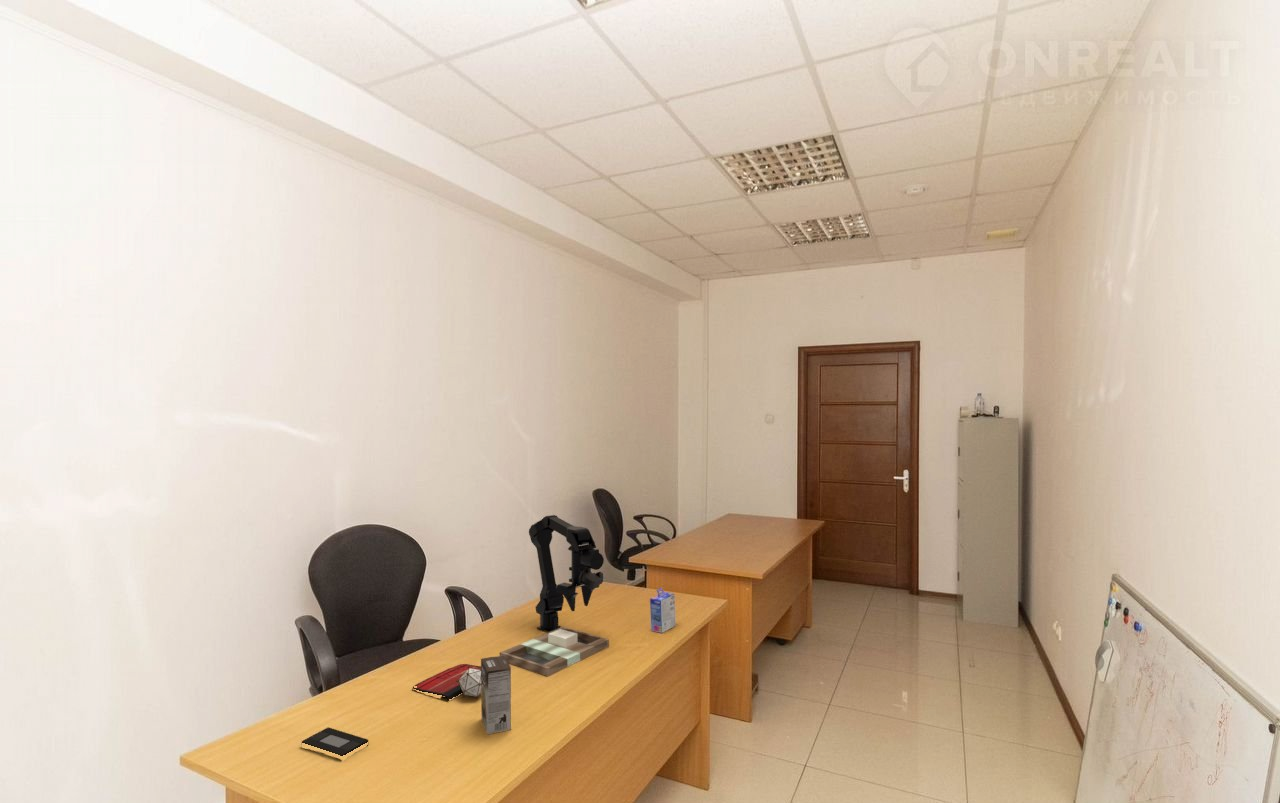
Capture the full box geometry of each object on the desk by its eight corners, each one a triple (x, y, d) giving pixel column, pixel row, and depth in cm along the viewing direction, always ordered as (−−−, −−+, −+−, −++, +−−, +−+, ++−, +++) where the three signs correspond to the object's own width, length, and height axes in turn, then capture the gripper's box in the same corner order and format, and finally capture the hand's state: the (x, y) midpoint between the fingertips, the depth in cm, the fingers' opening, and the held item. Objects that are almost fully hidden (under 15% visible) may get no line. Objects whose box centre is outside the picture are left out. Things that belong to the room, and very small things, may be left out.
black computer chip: (342, 763, 147) (342, 754, 147) (301, 749, 153) (301, 741, 153) (368, 747, 153) (368, 739, 153) (328, 735, 159) (328, 727, 160)
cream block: (548, 642, 214) (548, 633, 214) (560, 637, 219) (560, 628, 219) (565, 647, 209) (565, 638, 209) (577, 642, 214) (577, 633, 214)
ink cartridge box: (664, 623, 240) (663, 585, 241) (676, 626, 237) (676, 587, 237) (649, 630, 232) (649, 591, 232) (662, 633, 229) (661, 594, 229)
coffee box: (480, 719, 166) (480, 658, 166) (504, 714, 169) (504, 654, 169) (486, 735, 158) (486, 671, 158) (511, 730, 160) (511, 666, 161)
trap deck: (499, 660, 206) (499, 652, 206) (562, 633, 230) (562, 626, 230) (547, 676, 193) (547, 668, 193) (609, 646, 217) (609, 639, 217)
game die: (479, 707, 181) (501, 677, 182) (463, 709, 173) (485, 678, 175) (460, 686, 185) (481, 657, 186) (444, 686, 177) (466, 657, 179)
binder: (499, 668, 194) (448, 695, 176) (499, 675, 194) (448, 703, 176) (461, 660, 202) (409, 686, 184) (462, 668, 202) (409, 694, 184)
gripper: (578, 573, 209) (579, 620, 209) (613, 562, 224) (613, 605, 224) (554, 568, 216) (554, 613, 215) (590, 557, 231) (590, 600, 230)
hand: (579, 608), depth 221 cm, fingers open, 7 cm apart
